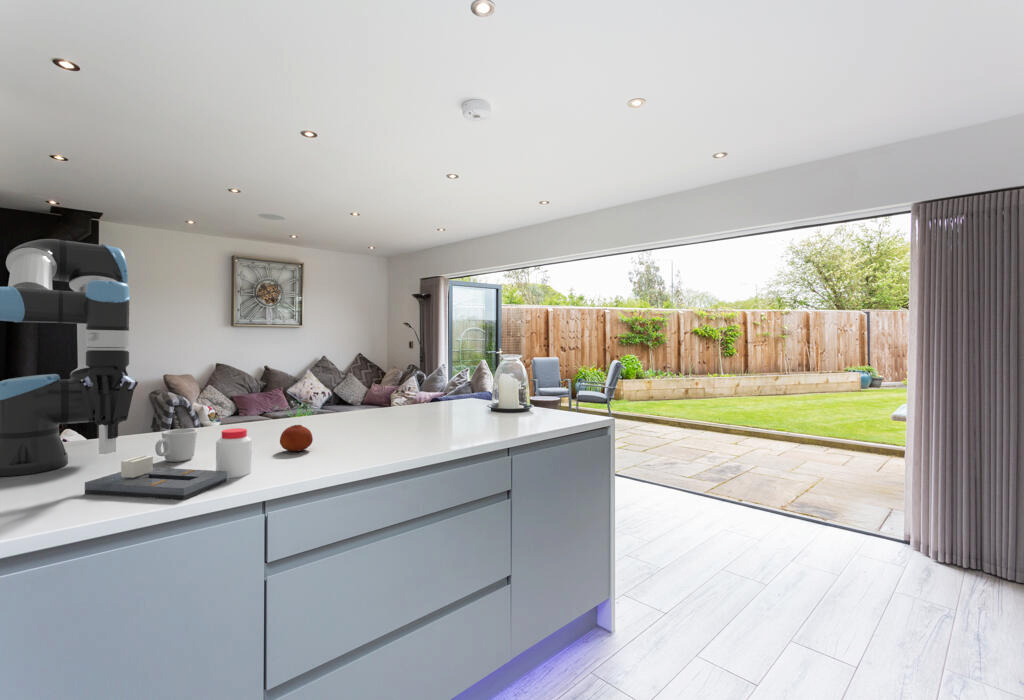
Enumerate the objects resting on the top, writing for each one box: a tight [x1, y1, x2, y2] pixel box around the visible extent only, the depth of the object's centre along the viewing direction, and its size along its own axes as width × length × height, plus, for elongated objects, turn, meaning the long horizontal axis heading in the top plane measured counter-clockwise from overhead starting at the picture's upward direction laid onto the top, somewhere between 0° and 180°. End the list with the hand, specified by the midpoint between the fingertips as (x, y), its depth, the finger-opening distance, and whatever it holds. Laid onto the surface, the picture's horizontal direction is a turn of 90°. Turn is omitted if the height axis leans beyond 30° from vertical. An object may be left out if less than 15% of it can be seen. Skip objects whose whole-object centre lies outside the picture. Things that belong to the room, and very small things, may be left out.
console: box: [84, 466, 228, 501], centre depth 107 cm, size 23×13×3 cm, turn 84°
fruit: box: [279, 424, 314, 453], centre depth 144 cm, size 9×9×8 cm
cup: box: [154, 428, 198, 463], centre depth 129 cm, size 11×8×8 cm
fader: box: [120, 455, 154, 478], centre depth 107 cm, size 4×5×5 cm
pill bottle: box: [215, 427, 253, 479], centre depth 119 cm, size 8×8×11 cm
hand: (107, 452), depth 108 cm, fingers closed
